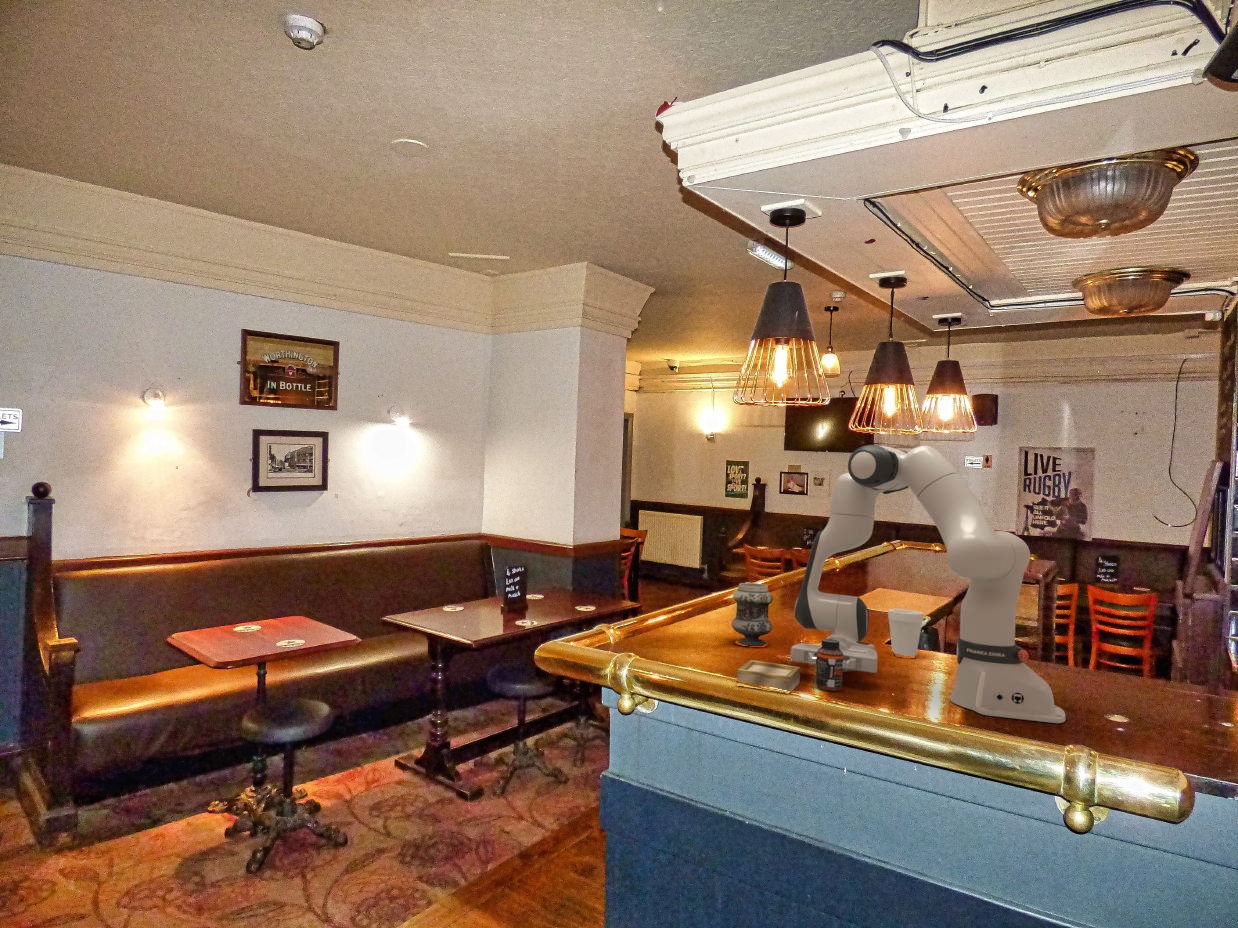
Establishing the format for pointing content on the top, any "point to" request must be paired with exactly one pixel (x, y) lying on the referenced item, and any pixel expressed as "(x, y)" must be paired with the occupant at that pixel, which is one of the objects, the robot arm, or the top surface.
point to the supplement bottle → (829, 666)
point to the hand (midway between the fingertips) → (829, 663)
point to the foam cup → (905, 630)
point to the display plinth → (769, 674)
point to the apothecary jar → (752, 613)
